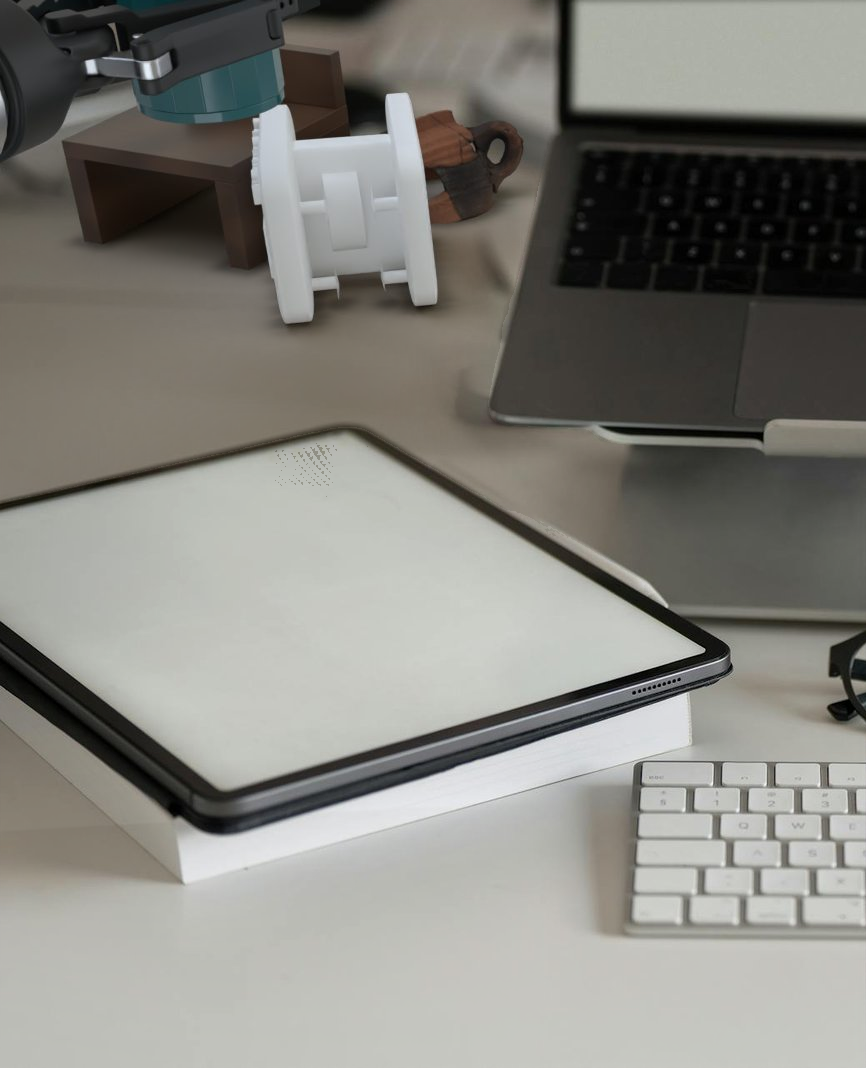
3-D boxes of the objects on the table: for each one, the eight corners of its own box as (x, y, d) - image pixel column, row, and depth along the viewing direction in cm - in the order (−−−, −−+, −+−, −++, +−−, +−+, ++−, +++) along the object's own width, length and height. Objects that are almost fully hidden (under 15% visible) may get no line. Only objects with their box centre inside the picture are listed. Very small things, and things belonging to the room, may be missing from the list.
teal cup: (106, 113, 94) (62, -94, 88) (197, 71, 100) (161, -124, 94) (228, 131, 92) (191, -79, 86) (312, 88, 98) (284, -111, 92)
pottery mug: (399, 247, 124) (351, 140, 123) (396, 255, 133) (350, 155, 132) (550, 185, 127) (504, 79, 125) (536, 197, 136) (493, 99, 134)
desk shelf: (85, 247, 122) (47, 83, 116) (206, 182, 133) (178, 29, 127) (249, 277, 118) (220, 108, 112) (360, 207, 129) (339, 50, 123)
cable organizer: (443, 327, 112) (424, 157, 106) (277, 343, 110) (247, 171, 103) (427, 240, 124) (409, 83, 118) (277, 253, 122) (251, 94, 116)
